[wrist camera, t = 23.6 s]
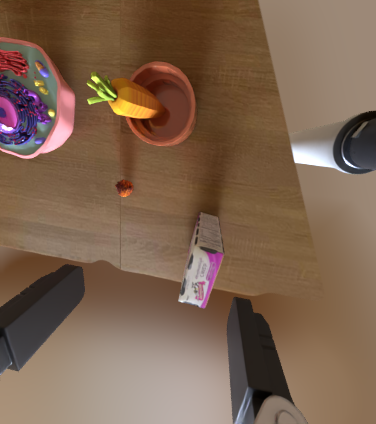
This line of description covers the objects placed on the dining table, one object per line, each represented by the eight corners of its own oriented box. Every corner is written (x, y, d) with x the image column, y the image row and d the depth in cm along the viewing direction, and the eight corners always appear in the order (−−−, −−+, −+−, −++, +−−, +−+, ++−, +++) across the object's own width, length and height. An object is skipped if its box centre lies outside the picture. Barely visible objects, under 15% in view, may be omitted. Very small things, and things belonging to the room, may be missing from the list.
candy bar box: (207, 256, 46) (205, 310, 30) (188, 251, 46) (176, 302, 30) (220, 216, 42) (225, 254, 26) (199, 210, 42) (192, 245, 27)
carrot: (159, 129, 37) (85, 114, 25) (152, 104, 36) (74, 76, 24) (177, 119, 34) (104, 96, 22) (171, 92, 34) (92, 52, 21)
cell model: (110, 115, 38) (71, 101, 27) (52, 171, 43) (1, 177, 33) (52, 35, 34) (-20, -17, 24) (-3, 106, 40) (-80, 91, 29)
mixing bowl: (202, 80, 34) (200, 65, 28) (193, 149, 38) (190, 149, 32) (138, 74, 35) (123, 58, 29) (137, 142, 39) (123, 140, 33)
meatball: (138, 183, 42) (130, 187, 38) (132, 196, 43) (124, 201, 39) (124, 175, 41) (115, 178, 38) (118, 189, 43) (109, 192, 39)
